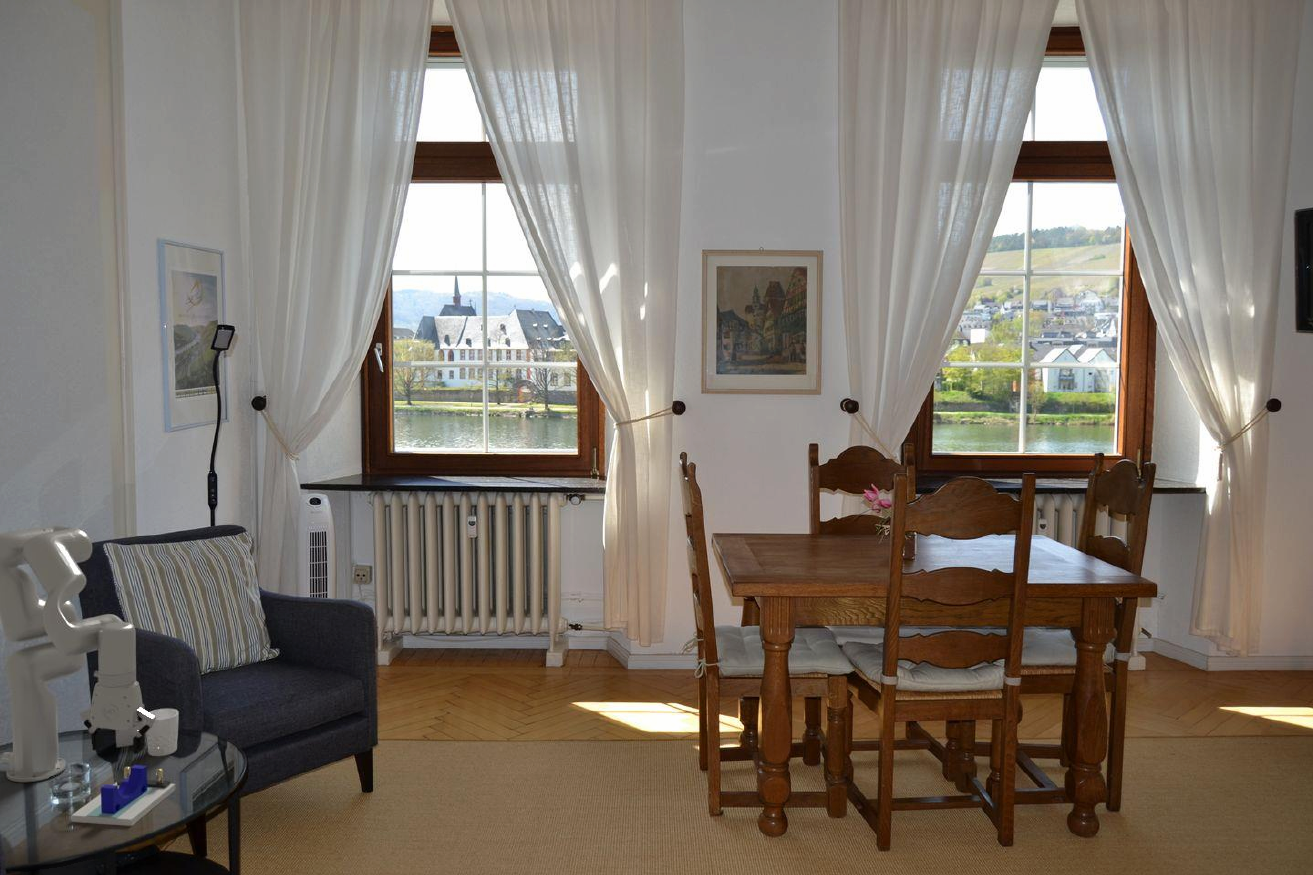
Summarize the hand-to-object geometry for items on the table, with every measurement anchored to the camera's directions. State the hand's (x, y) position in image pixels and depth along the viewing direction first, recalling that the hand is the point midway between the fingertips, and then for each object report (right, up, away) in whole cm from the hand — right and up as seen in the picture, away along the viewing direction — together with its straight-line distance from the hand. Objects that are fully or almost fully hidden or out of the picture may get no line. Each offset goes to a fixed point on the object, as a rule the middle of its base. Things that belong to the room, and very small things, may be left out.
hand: (118, 749), depth 237 cm
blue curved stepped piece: (0, -12, +1) cm, 12 cm away
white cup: (-5, -10, +33) cm, 35 cm away
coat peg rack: (+1, -11, +10) cm, 15 cm away
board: (0, -14, +3) cm, 14 cm away
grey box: (-16, -10, +37) cm, 42 cm away
